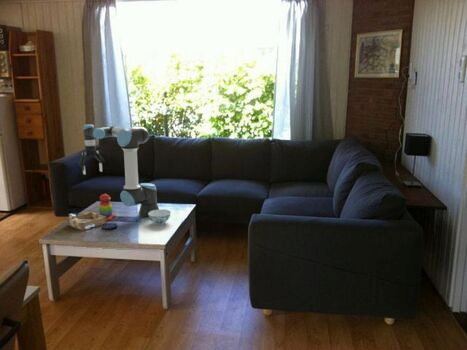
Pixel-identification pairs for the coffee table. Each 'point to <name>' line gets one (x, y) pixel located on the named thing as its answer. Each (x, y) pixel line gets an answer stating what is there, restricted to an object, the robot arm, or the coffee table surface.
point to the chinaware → (159, 216)
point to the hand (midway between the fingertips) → (92, 172)
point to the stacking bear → (106, 207)
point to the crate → (94, 218)
